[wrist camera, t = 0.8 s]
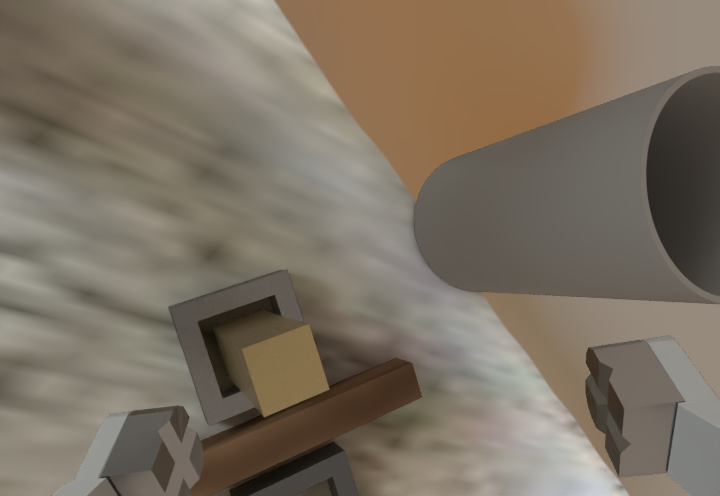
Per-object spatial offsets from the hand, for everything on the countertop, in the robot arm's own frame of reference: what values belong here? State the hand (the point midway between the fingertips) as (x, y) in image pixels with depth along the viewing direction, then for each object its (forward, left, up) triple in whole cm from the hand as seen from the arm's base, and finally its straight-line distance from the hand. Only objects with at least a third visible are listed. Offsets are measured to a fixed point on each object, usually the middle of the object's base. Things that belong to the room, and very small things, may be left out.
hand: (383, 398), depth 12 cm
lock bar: (+4, +2, -35) cm, 35 cm away
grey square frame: (+4, +2, -35) cm, 35 cm away
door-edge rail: (+11, +3, -35) cm, 37 cm away
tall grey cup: (+1, +25, -35) cm, 43 cm away
